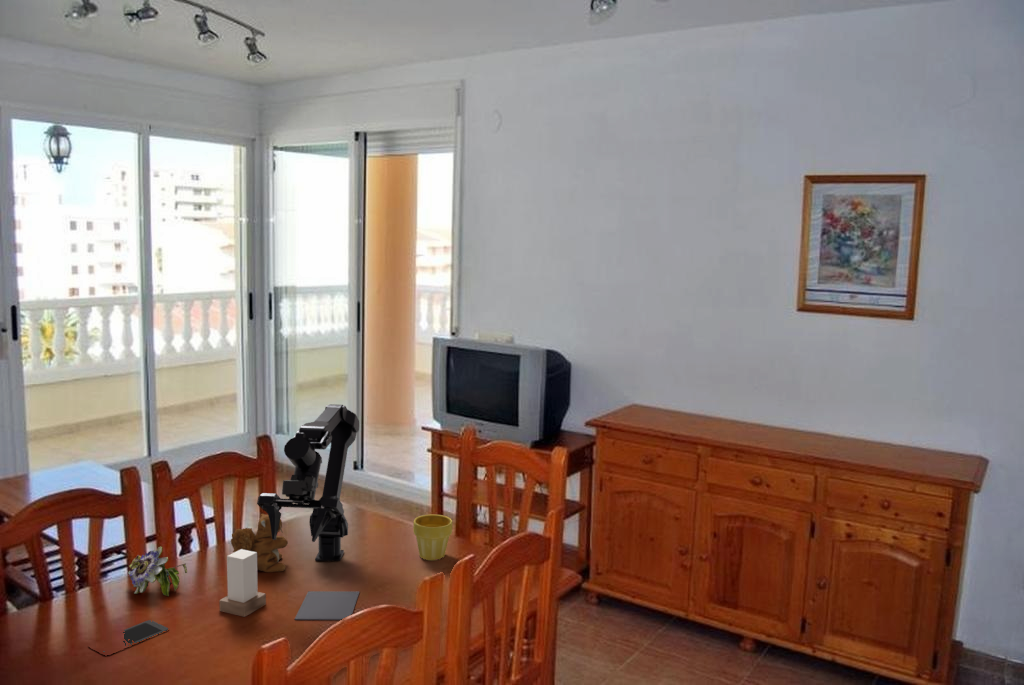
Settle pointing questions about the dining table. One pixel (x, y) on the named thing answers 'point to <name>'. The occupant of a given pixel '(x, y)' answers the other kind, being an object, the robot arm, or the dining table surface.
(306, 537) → the dining table surface
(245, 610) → the grey square slab
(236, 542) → the stuffed squirrel
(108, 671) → the dining table surface
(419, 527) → the plant pot
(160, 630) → the cell phone
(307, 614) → the charcoal mat
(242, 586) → the cream pillar
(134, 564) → the passion flower
